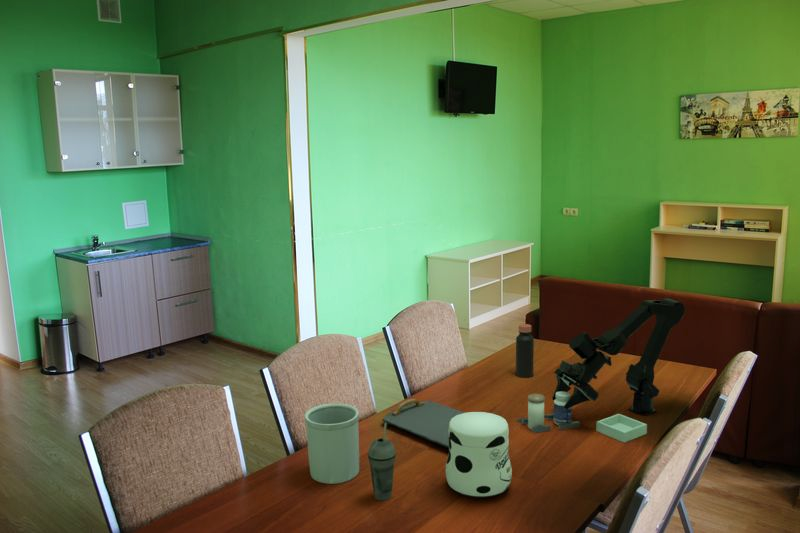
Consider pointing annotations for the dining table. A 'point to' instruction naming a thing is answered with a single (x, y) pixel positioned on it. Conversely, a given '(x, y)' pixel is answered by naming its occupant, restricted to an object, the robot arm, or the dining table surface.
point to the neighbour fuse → (535, 410)
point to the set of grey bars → (548, 427)
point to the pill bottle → (562, 408)
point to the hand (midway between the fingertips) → (558, 403)
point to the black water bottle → (524, 351)
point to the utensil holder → (333, 442)
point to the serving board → (423, 419)
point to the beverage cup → (382, 466)
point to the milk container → (478, 455)
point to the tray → (621, 427)
